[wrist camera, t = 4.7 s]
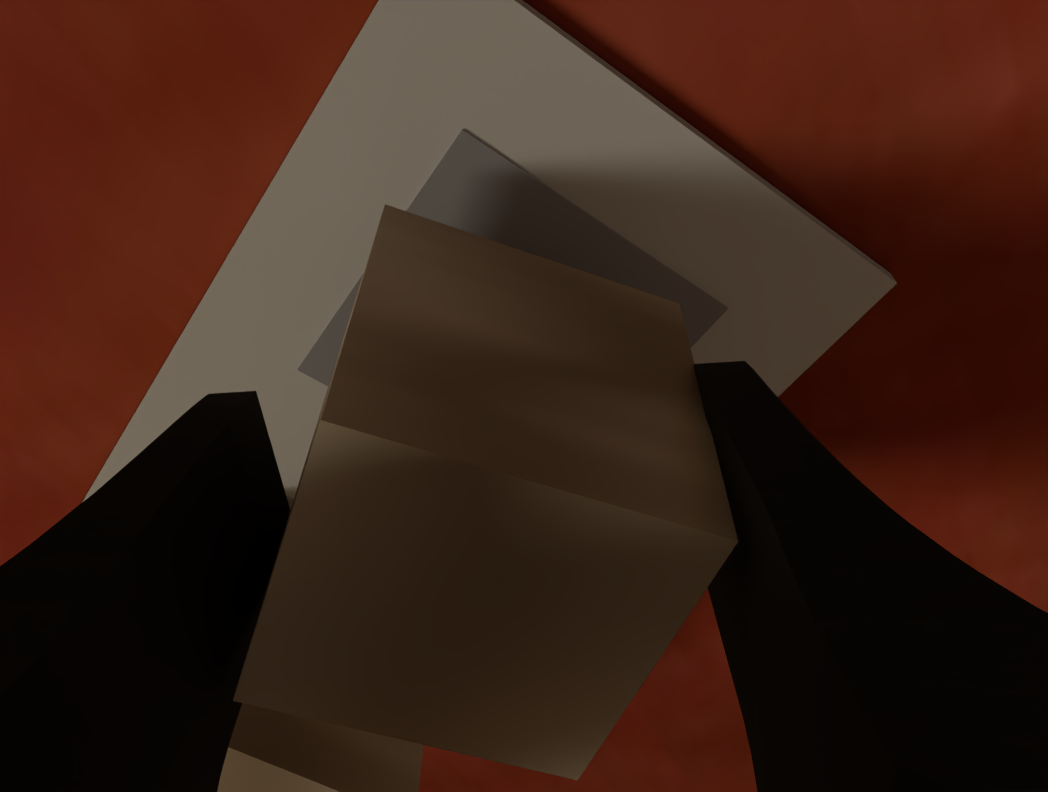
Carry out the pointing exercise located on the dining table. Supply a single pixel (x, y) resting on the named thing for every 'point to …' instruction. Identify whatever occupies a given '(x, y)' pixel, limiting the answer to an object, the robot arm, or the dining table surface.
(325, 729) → the block
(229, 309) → the mat
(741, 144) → the dining table surface
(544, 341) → the block
